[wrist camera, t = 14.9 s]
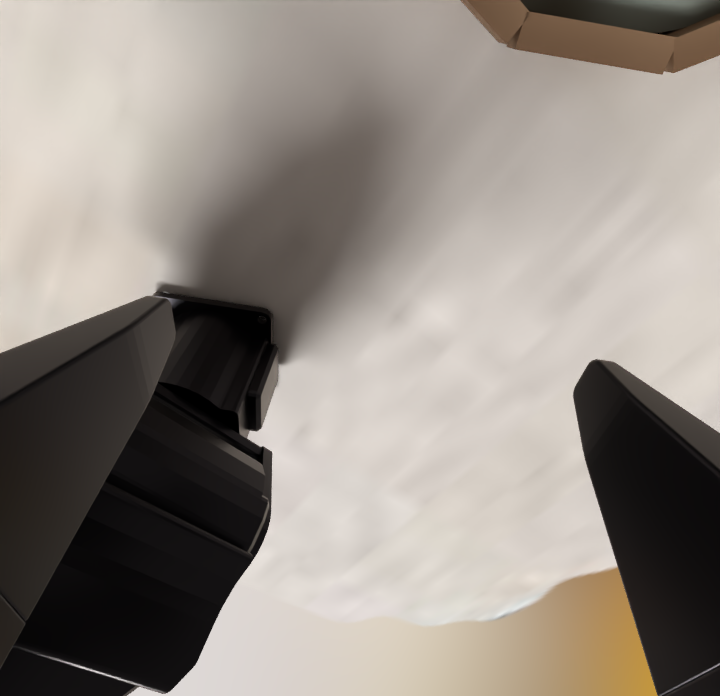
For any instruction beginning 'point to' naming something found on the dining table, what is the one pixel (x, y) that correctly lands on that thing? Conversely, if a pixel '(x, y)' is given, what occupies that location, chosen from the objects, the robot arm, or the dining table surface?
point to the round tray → (608, 30)
